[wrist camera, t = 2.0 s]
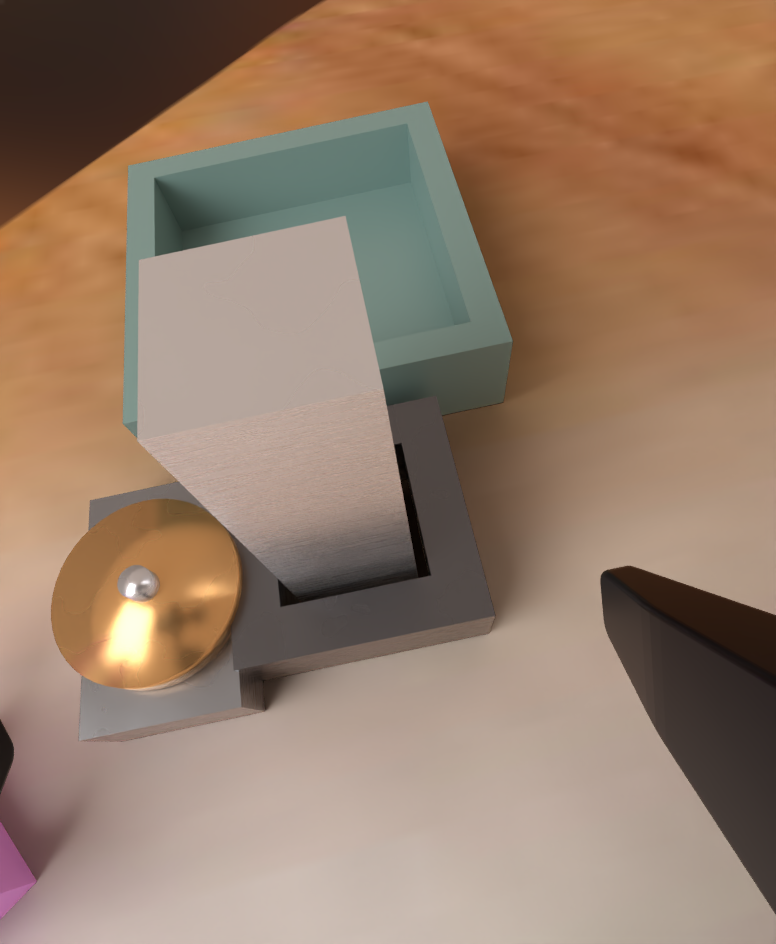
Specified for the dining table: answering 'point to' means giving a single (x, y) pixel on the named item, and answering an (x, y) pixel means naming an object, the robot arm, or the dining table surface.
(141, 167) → the tray
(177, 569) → the tensioner bracket
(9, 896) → the bracket
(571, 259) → the dining table surface
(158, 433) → the pin
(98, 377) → the dining table surface
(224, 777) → the dining table surface
